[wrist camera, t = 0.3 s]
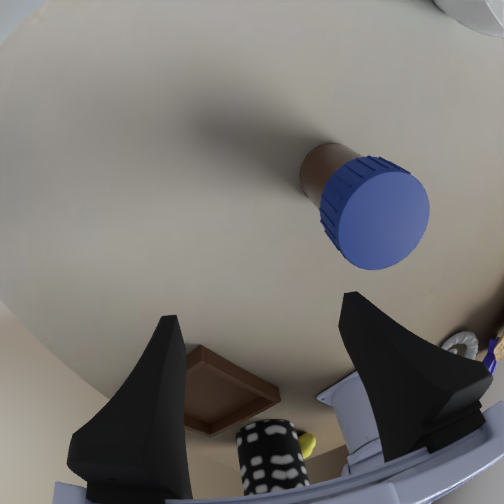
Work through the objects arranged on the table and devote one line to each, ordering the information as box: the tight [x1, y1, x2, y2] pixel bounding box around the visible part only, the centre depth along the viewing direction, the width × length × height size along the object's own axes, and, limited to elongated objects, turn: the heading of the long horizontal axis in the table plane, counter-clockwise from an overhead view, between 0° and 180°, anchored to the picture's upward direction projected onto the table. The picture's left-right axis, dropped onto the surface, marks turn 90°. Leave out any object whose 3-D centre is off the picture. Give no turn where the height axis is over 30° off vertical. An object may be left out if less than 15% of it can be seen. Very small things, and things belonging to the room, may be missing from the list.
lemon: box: [298, 433, 316, 459], centre depth 39 cm, size 4×8×4 cm
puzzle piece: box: [482, 337, 500, 375], centre depth 35 cm, size 10×12×2 cm
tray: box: [184, 345, 281, 437], centre depth 30 cm, size 11×11×2 cm
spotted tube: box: [236, 420, 310, 496], centre depth 29 cm, size 8×8×20 cm
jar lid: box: [319, 156, 429, 270], centre depth 15 cm, size 5×5×3 cm
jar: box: [300, 143, 364, 209], centre depth 17 cm, size 4×4×7 cm
